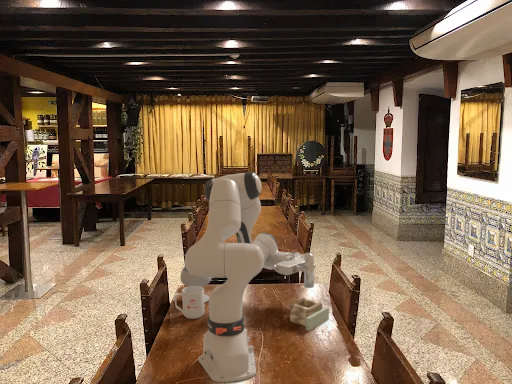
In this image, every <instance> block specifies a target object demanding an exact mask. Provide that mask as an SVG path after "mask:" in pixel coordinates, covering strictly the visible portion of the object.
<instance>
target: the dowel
mask: <svg viewBox="0 0 512 384" xmlns="http://www.w3.org/2000/svg"><path fill="white" fill-rule="evenodd" d="M303 255H304V267H308V271H307V272H303V273H304V277H303V278H304V279H303V280H304V282H303V286H304V287H305V288H307V289H311V288H314V287H315V280H314V279H315V269H314V264H315V254H314V253H313V252H305V253H304V254H303Z"/></svg>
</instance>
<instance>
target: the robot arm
mask: <svg viewBox="0 0 512 384" xmlns="http://www.w3.org/2000/svg"><path fill="white" fill-rule="evenodd" d="M262 187H263V185H262V181H261V179H260V177H259V176H258V174H257V173H256V172H254V171H246V172H240V173H234V174H226V175H223V176H219V177H217V178H215V177H214V178H211V179H210V180H207V181H206V183H205V184H204V188H203V189H204V190H203V191H204V196H205V199H206V202H207V203H208V220H207V227H206V230H205V232H204V233H203V235H202V236H201V237H200V239H199V240H198V241H197V242H196V243H194V244H193V245H191V246H190V247H189V248H188V249H187V250H186V253H185V256H184V265H185V266H186V269H187V270H188V272H189V273H190V274H191V275H194V276H199V277H212V278H227V279H226V280H225V282H224V283H222V284H220V285H218V286H216V287H214V288H213V289H212V290H211V291H210V292H209V295H208V296H209V301H208V317H207V330H206V332H205V333H204V334H203V347H202V348H203V351H202V354H201V355H199V356H198V359H197V360H198V361H197V362H199V364H200V365H201V366H202V368H203V369H204V370H205V372H206V373H207V375H208V377H210V379H211V381H213V382H217V383H231V382H232V383H233V382H237V381H243V380H247V379H250V378H251V379H252V377H253V378H254V376H255V377H256V375H257V368H256V359H255V351H254V346H253V345H249V344H248V342H251V337H250V336H248V329H247V328H245V318H244V315H243V304H244V303H243V301H244V293H245V289H246V288H247V286H248V285H249V283H250V282H251V280H253V278H254V277H256V276H257V275H258V274H259V273H261V271H262V269H267V270H274V271H275V272H277V273H278V274H280V275H284V276H290V275H292V274H295V273H299V272H301V273H302V272H303V273H304V272H307V271H308V267H304V254H300V253H299V252H297V251H293V252H287V251H285V252H284V251H279V247H278V243H277V240H276V238H275V236H274V235H273V234H270V233H267V232H260V233H259V234H257V236H256V237H255V238H254V239H253V240H252V231H253V228H254V226H255V224H256V222H257V220H258V218H259V217H260V215H261V211H262V204H261V203H262V202H261V200H260V198H259V196H260V195H261V194H262V189H263V188H262ZM234 235H235V236H236V240H237V242H229V243H228V242H225V241H226V240H227V239H229V238H231V237H233V236H234ZM185 266H184V267H185ZM315 269H316V264H315V263H314V270H315Z"/></svg>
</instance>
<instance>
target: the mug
mask: <svg viewBox="0 0 512 384" xmlns="http://www.w3.org/2000/svg"><path fill="white" fill-rule="evenodd" d="M204 294H205V288H204V286H203V287H200V286H189V287H188V286H185V287H184V288H182V290H181V292H178V293H174V306H175V309H177V310H179V311H180V312H182V315H183V316H184V317H185V318H186V319H190V320H193V319H194V320H196V319H200V318H202V317H203V316H204V314H205V303H204ZM177 296H181V297H182V299H181V300H182V302H181V303H182V308H181V307H180V306H178V305H177Z"/></svg>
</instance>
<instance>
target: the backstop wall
mask: <svg viewBox="0 0 512 384" xmlns="http://www.w3.org/2000/svg"><path fill="white" fill-rule="evenodd" d="M328 320H330V308H329V307H328V306H325V307H322V309H321V310H319V311H317V312H315V313H314V314H312V315H310V316H308V317H306V326H305V330H306V331H308V332H310V331H311V330H313V329H315V328H316V327H318V326H319V325H322V324H323V323H325V322H327V321H328Z"/></svg>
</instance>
